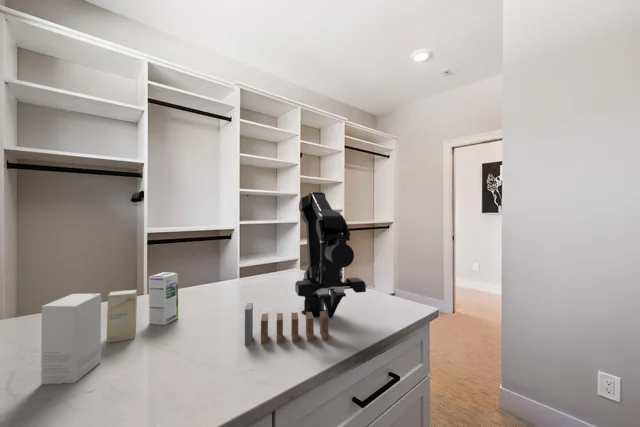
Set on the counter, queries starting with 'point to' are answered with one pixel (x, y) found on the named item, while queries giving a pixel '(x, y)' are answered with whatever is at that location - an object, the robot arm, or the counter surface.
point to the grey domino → (248, 323)
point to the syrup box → (163, 298)
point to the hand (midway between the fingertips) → (330, 317)
